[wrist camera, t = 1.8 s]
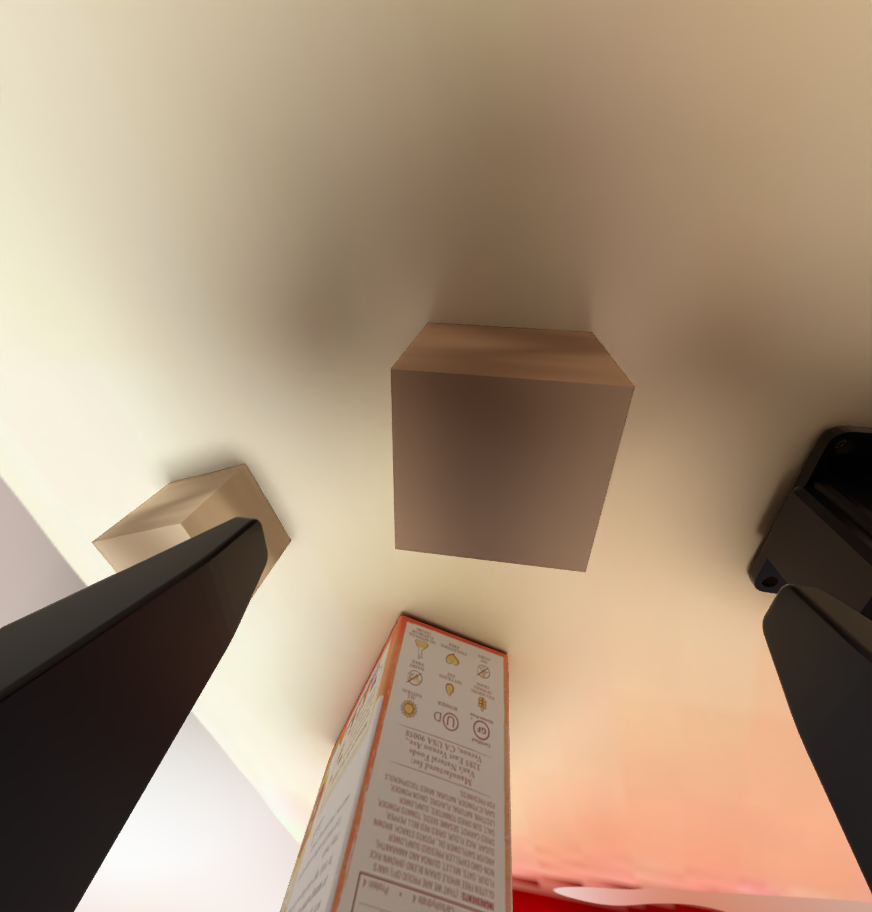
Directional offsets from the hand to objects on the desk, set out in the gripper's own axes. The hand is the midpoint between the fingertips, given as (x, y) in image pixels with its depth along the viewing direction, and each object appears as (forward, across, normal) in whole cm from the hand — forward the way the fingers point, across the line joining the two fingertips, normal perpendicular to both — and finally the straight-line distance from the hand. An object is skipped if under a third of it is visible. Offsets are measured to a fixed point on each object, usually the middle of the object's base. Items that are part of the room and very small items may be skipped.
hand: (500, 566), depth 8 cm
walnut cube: (+8, 0, 0) cm, 8 cm away
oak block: (+8, +11, +6) cm, 15 cm away
